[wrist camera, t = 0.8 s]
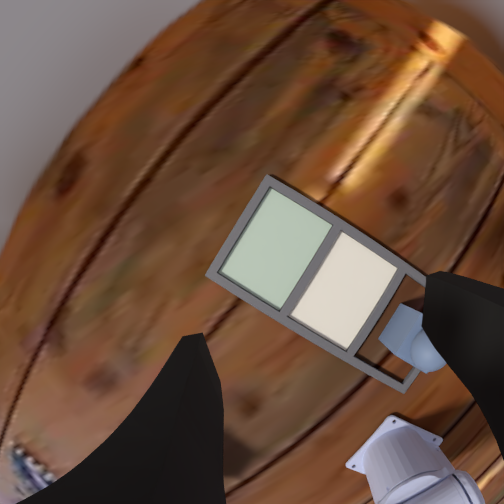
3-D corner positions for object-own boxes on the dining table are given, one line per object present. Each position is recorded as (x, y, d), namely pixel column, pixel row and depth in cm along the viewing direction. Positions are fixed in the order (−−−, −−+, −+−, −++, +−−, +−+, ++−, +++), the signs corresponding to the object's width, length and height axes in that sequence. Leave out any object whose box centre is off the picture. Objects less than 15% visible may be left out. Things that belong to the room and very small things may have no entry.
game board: (458, 302, 26) (461, 303, 25) (402, 391, 27) (403, 393, 26) (266, 175, 28) (266, 174, 28) (206, 275, 29) (204, 275, 28)
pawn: (428, 322, 26) (470, 343, 18) (407, 356, 27) (442, 388, 19) (400, 303, 27) (438, 320, 19) (378, 338, 27) (408, 368, 19)
